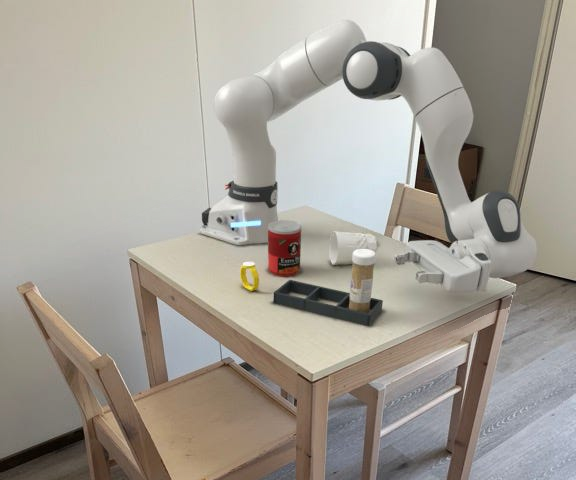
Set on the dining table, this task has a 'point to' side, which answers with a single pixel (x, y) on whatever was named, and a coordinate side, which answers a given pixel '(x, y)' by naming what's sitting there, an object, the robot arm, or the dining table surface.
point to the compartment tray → (323, 308)
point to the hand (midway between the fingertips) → (406, 268)
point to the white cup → (349, 246)
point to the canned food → (284, 247)
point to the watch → (254, 273)
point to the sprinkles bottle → (362, 279)
